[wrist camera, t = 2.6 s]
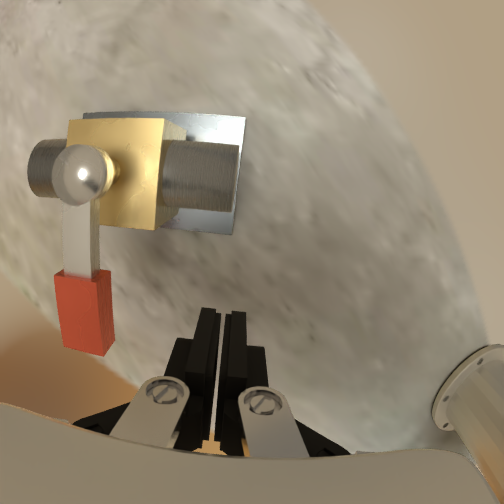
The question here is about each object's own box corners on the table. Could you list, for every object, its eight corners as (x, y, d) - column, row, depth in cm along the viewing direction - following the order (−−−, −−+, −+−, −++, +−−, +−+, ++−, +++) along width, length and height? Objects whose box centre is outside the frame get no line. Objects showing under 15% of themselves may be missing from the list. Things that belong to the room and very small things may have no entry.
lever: (70, 145, 11) (51, 144, 10) (117, 145, 11) (101, 143, 10) (75, 331, 14) (62, 346, 12) (116, 340, 14) (105, 356, 12)
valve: (245, 120, 20) (242, 85, 11) (232, 231, 23) (220, 279, 13) (90, 115, 20) (9, 96, 11) (83, 216, 22) (3, 248, 13)
